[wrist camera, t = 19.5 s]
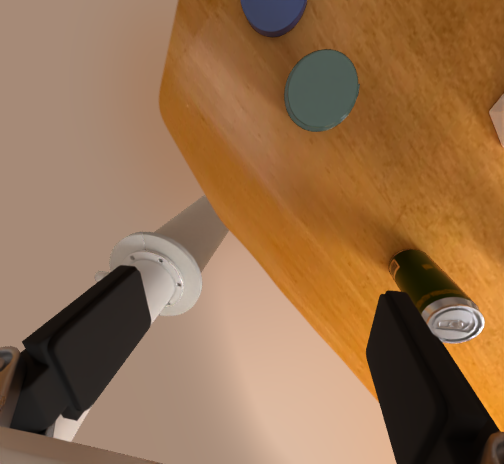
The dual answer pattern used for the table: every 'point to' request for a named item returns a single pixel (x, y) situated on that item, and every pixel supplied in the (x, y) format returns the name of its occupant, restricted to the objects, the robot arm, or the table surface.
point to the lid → (273, 15)
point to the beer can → (436, 297)
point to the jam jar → (321, 90)
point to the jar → (498, 118)
